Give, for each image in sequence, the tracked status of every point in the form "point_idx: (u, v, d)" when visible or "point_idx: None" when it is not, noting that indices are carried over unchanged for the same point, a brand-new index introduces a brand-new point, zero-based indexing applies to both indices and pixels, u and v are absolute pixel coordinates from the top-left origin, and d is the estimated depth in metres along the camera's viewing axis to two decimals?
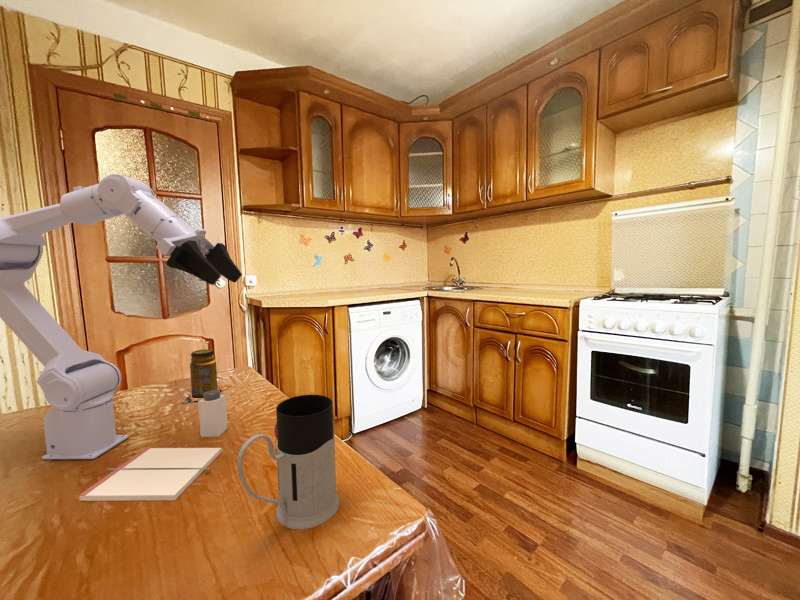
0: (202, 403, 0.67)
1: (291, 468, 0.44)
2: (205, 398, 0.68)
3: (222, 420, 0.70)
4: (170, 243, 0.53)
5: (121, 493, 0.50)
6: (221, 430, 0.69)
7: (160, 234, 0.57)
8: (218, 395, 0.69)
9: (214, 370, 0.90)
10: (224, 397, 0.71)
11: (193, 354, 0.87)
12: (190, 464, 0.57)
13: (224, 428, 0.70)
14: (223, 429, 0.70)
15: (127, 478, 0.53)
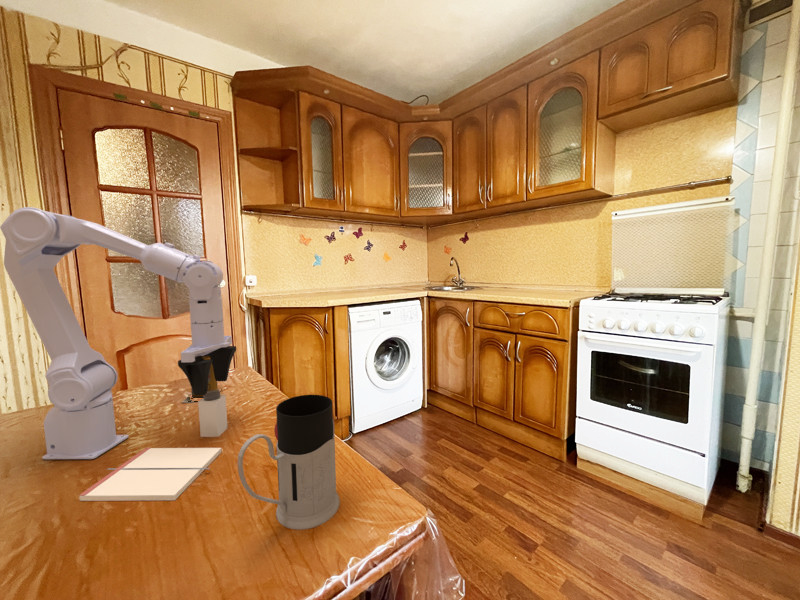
0: (202, 403, 0.67)
1: (291, 468, 0.44)
2: (205, 398, 0.68)
3: (222, 420, 0.70)
4: (193, 358, 0.61)
5: (121, 493, 0.50)
6: (221, 430, 0.69)
7: (196, 330, 0.65)
8: (218, 395, 0.69)
9: None
10: (224, 397, 0.71)
11: None
12: (190, 464, 0.57)
13: (224, 428, 0.70)
14: (223, 429, 0.70)
15: (127, 478, 0.53)
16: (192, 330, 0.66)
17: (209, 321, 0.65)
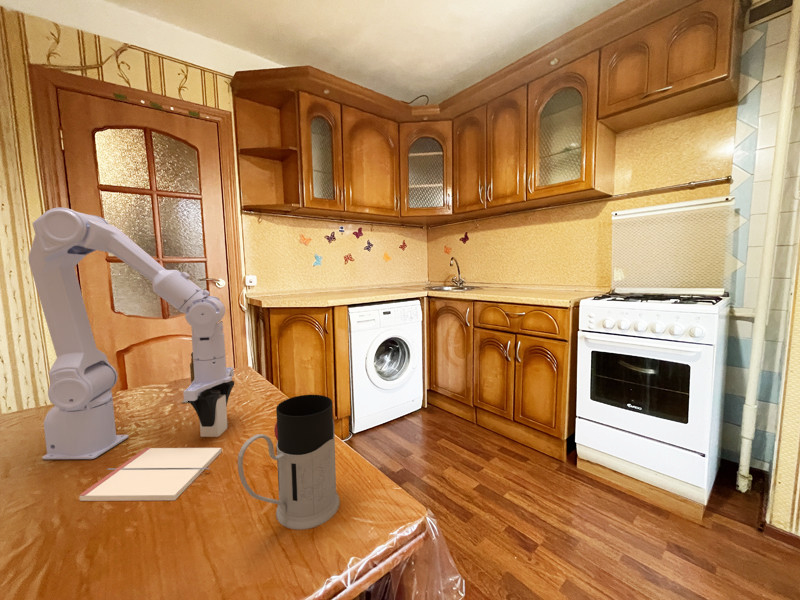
0: None
1: (291, 468, 0.44)
2: None
3: (222, 420, 0.70)
4: (195, 396, 0.62)
5: (121, 493, 0.50)
6: (221, 430, 0.69)
7: (199, 366, 0.66)
8: None
9: None
10: (224, 397, 0.71)
11: None
12: (190, 464, 0.57)
13: (224, 428, 0.70)
14: (223, 429, 0.70)
15: (127, 478, 0.53)
16: (195, 366, 0.66)
17: (211, 357, 0.66)
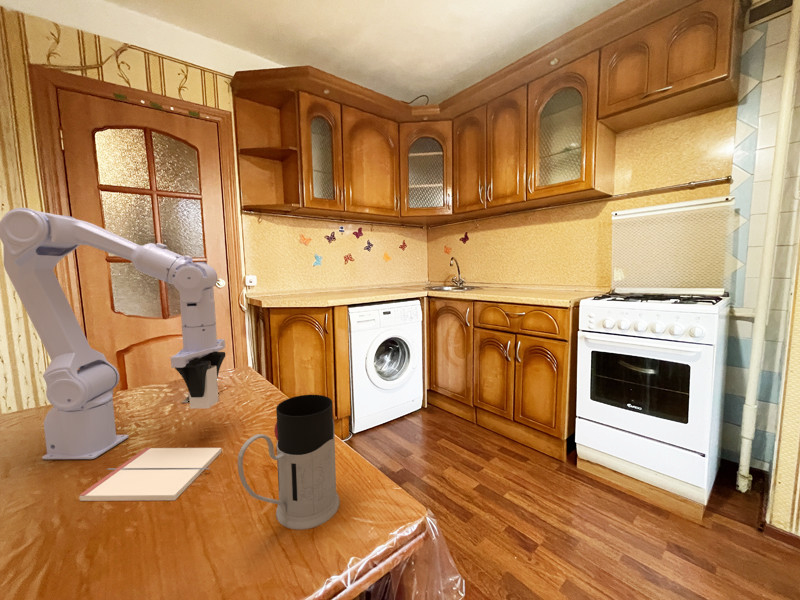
0: None
1: (291, 468, 0.44)
2: None
3: (213, 391, 0.67)
4: (183, 363, 0.59)
5: (121, 493, 0.50)
6: (212, 402, 0.66)
7: (187, 333, 0.63)
8: None
9: None
10: (215, 368, 0.68)
11: None
12: (190, 464, 0.57)
13: (215, 400, 0.68)
14: (213, 401, 0.67)
15: (127, 478, 0.53)
16: (183, 334, 0.63)
17: (199, 325, 0.63)
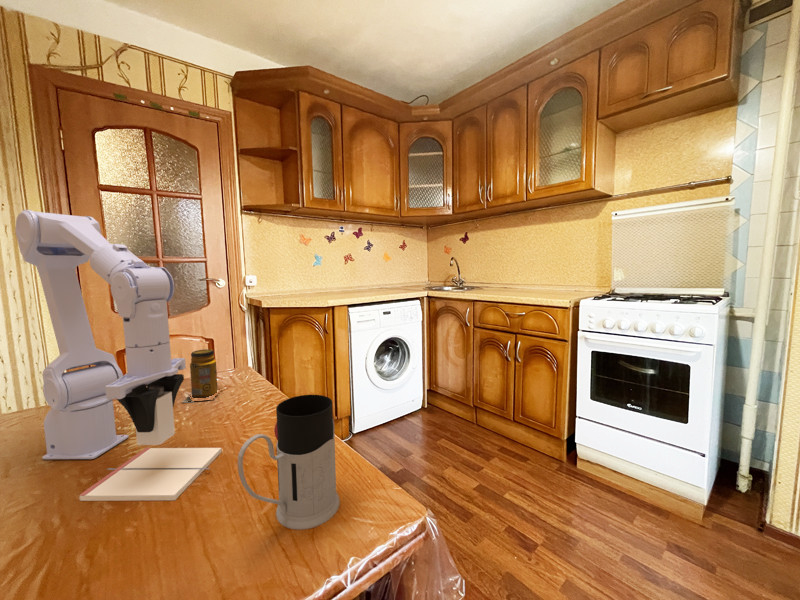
0: None
1: (291, 468, 0.44)
2: None
3: (166, 424, 0.55)
4: (121, 393, 0.48)
5: (121, 493, 0.50)
6: (164, 436, 0.55)
7: (131, 355, 0.51)
8: (160, 392, 0.54)
9: (214, 370, 0.90)
10: (169, 395, 0.56)
11: (193, 354, 0.87)
12: (190, 464, 0.57)
13: (169, 434, 0.56)
14: (167, 436, 0.55)
15: (127, 478, 0.53)
16: (127, 355, 0.52)
17: (133, 345, 0.51)
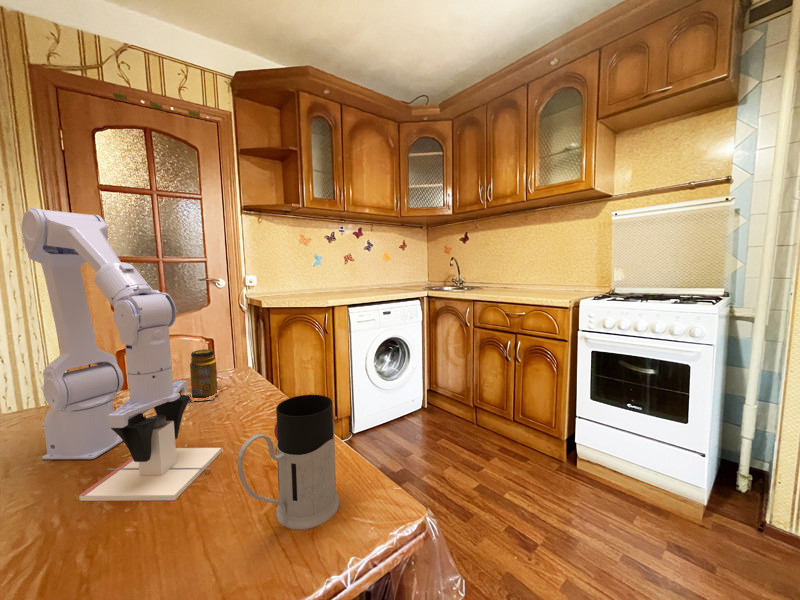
0: None
1: (291, 468, 0.44)
2: None
3: (168, 453, 0.56)
4: (124, 422, 0.48)
5: (121, 493, 0.50)
6: (167, 466, 0.55)
7: (133, 382, 0.52)
8: (162, 422, 0.55)
9: (214, 370, 0.90)
10: (172, 424, 0.57)
11: (193, 354, 0.87)
12: (190, 464, 0.57)
13: (171, 463, 0.56)
14: (169, 465, 0.56)
15: (127, 478, 0.53)
16: (129, 382, 0.52)
17: (135, 372, 0.51)
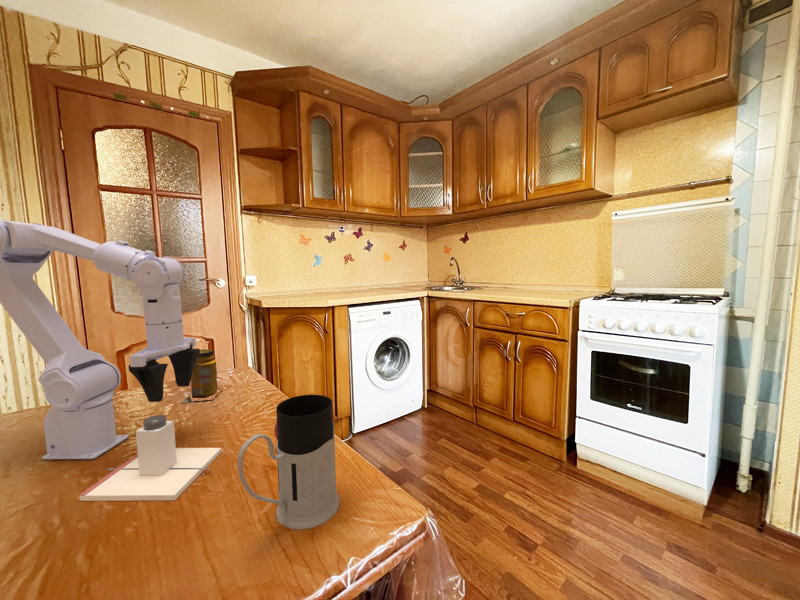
0: (141, 433, 0.53)
1: (291, 468, 0.44)
2: (145, 427, 0.54)
3: (168, 453, 0.56)
4: (143, 362, 0.56)
5: (121, 493, 0.50)
6: (167, 466, 0.55)
7: (150, 331, 0.60)
8: (162, 422, 0.55)
9: (214, 370, 0.90)
10: (172, 424, 0.57)
11: None
12: (190, 464, 0.57)
13: (171, 463, 0.56)
14: (169, 465, 0.56)
15: (127, 478, 0.53)
16: (146, 332, 0.60)
17: (160, 322, 0.60)
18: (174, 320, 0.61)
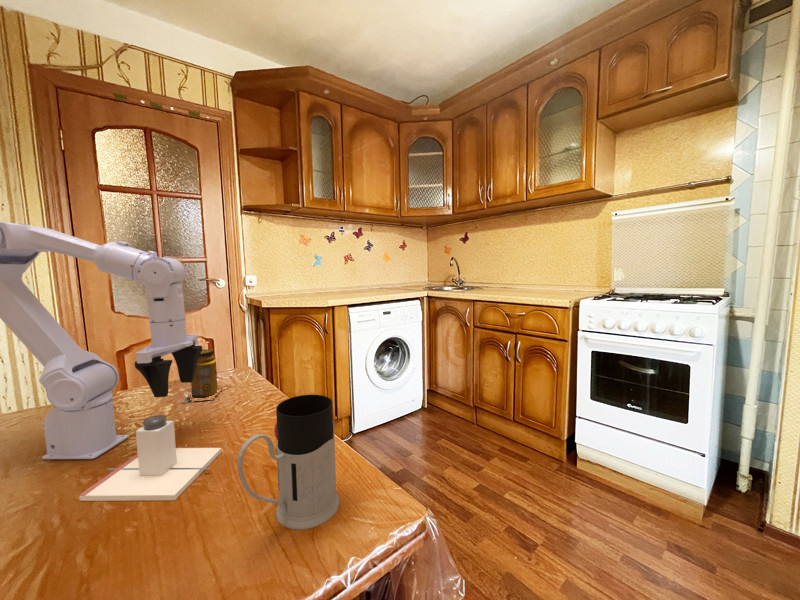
0: (141, 433, 0.53)
1: (291, 468, 0.44)
2: (145, 427, 0.54)
3: (168, 453, 0.56)
4: (149, 358, 0.58)
5: (121, 493, 0.50)
6: (167, 466, 0.55)
7: (155, 329, 0.62)
8: (162, 422, 0.55)
9: (214, 370, 0.90)
10: (172, 424, 0.57)
11: None
12: (190, 464, 0.57)
13: (171, 463, 0.56)
14: (169, 465, 0.56)
15: (127, 478, 0.53)
16: (151, 329, 0.63)
17: (167, 320, 0.62)
18: (179, 318, 0.64)
